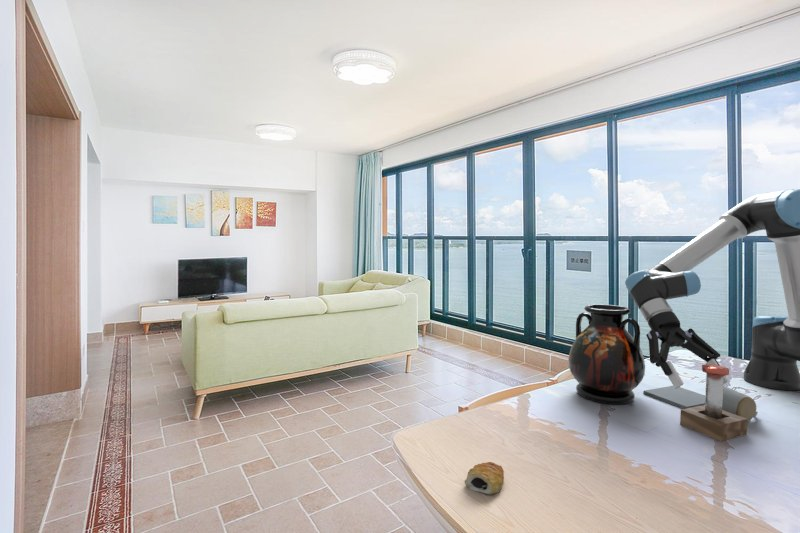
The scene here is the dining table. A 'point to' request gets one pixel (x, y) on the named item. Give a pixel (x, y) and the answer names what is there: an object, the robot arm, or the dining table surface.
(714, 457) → the dining table surface
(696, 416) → the eye block
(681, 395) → the mat
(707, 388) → the red-capped mushroom
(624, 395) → the amphora vase
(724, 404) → the ceramic mug
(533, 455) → the dining table surface
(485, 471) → the pastry
